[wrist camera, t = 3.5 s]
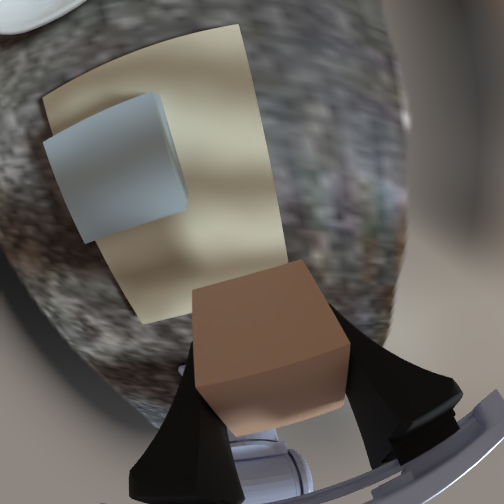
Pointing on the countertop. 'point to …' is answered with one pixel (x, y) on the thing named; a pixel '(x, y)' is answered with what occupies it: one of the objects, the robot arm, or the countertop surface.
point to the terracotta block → (268, 349)
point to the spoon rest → (32, 13)
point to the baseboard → (208, 162)
